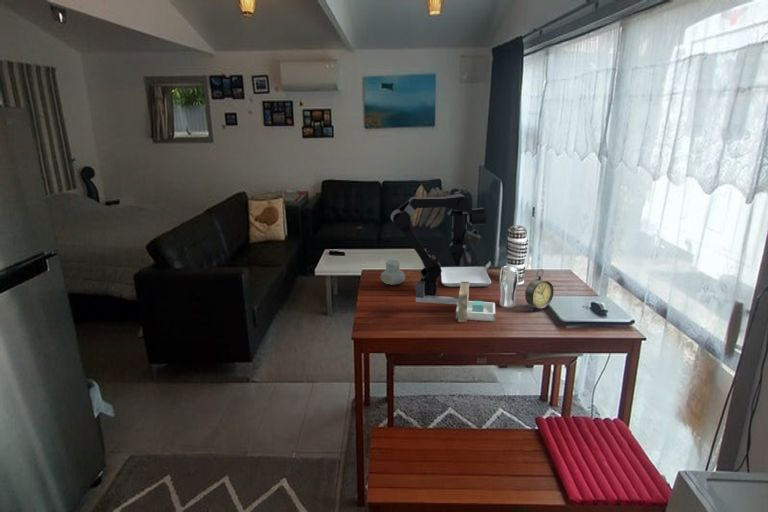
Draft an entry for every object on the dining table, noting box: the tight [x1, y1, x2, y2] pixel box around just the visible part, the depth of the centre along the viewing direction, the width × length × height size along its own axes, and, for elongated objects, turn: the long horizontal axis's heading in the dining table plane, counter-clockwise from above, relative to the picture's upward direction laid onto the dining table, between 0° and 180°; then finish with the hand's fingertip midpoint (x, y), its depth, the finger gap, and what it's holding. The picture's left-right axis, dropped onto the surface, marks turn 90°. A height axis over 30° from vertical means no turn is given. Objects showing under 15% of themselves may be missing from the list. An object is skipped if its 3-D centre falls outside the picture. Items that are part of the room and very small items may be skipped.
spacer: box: [472, 300, 485, 312], centre depth 173 cm, size 4×4×4 cm
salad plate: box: [440, 266, 492, 288], centre depth 209 cm, size 21×21×3 cm
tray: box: [455, 300, 496, 323], centre depth 174 cm, size 14×11×3 cm
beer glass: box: [499, 265, 519, 309], centre depth 180 cm, size 7×7×15 cm
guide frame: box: [457, 282, 470, 323], centre depth 174 cm, size 3×15×10 cm, turn 168°
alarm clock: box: [524, 268, 555, 313], centre depth 175 cm, size 11×5×16 cm, turn 117°
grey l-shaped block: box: [415, 280, 459, 305], centre depth 175 cm, size 18×3×8 cm, turn 78°
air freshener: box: [380, 259, 406, 286], centre depth 206 cm, size 11×8×10 cm
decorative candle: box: [505, 224, 529, 286], centre depth 203 cm, size 9×9×25 cm
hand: (458, 262), depth 192 cm, fingers open, 9 cm apart
